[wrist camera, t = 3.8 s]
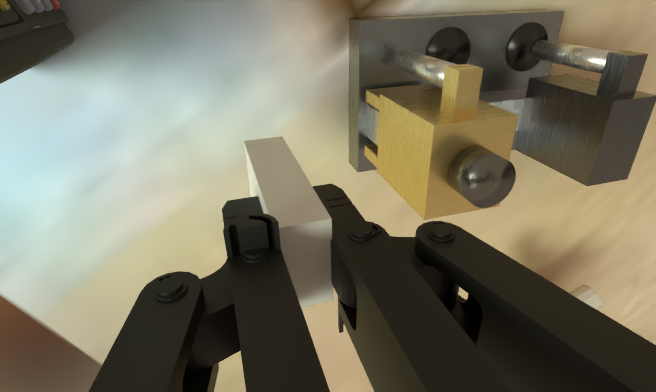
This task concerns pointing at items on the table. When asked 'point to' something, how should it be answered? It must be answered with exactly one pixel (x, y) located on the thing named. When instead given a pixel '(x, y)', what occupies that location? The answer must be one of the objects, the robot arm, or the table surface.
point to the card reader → (30, 34)
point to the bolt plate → (512, 86)
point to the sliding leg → (442, 139)
